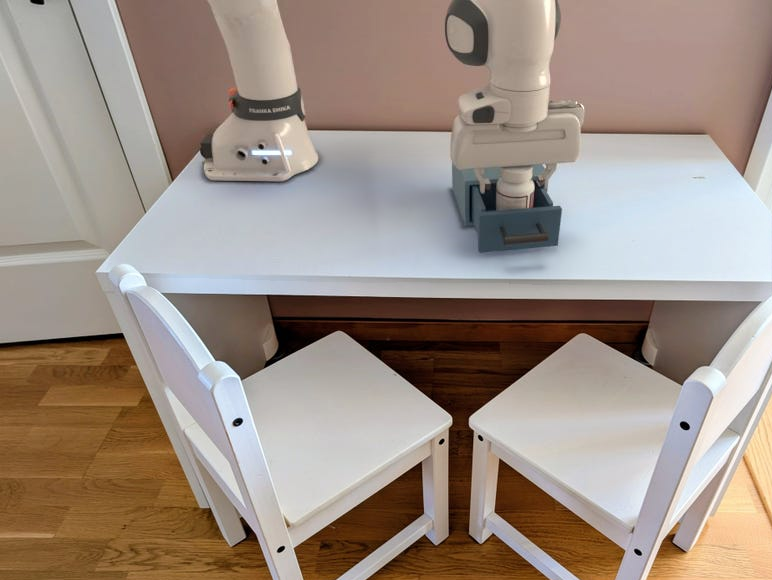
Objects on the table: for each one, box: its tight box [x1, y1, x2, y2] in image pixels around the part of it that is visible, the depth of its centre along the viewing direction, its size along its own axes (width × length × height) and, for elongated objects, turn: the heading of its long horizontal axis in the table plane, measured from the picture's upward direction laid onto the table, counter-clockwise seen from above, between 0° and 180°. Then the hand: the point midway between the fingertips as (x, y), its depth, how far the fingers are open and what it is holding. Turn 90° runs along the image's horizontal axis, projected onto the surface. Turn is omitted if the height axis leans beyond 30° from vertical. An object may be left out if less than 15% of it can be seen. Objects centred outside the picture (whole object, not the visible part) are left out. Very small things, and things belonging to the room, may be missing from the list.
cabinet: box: [451, 162, 549, 228], centre depth 111 cm, size 15×15×9 cm
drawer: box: [469, 180, 563, 254], centre depth 102 cm, size 18×13×7 cm
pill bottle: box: [496, 165, 534, 211], centre depth 100 cm, size 6×6×11 cm
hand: (513, 189), depth 99 cm, fingers open, 8 cm apart
